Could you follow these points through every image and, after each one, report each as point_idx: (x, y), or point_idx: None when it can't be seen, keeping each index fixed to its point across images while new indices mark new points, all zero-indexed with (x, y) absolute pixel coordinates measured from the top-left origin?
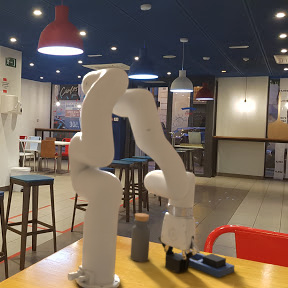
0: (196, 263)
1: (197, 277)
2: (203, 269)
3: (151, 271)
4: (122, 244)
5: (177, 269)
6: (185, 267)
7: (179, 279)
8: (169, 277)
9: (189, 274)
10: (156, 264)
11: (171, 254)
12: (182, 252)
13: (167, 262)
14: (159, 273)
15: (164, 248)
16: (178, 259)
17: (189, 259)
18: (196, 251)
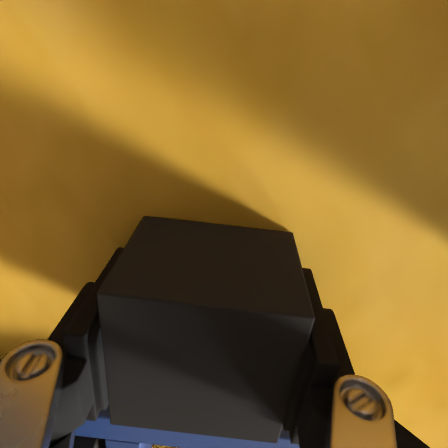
0: None
1: (13, 265)
2: None
3: (353, 17)
4: None
5: (143, 231)
6: (85, 288)
7: (40, 99)
8: (123, 51)
9: (82, 267)
10: (391, 236)
11: (279, 383)
12: (32, 432)
13: (273, 263)
14: (255, 52)
15: (403, 433)
16: (129, 320)
17: (184, 433)
18: None
